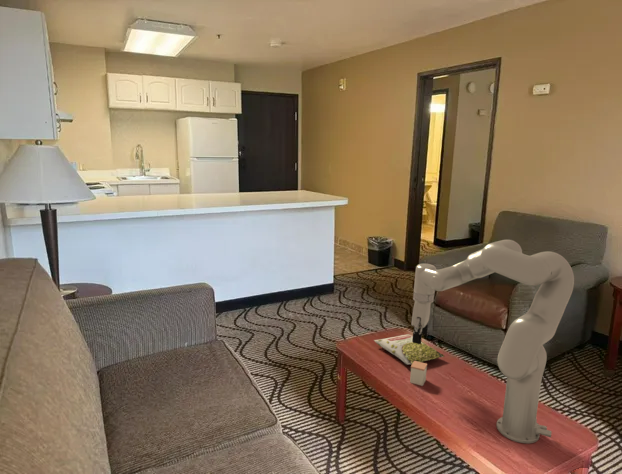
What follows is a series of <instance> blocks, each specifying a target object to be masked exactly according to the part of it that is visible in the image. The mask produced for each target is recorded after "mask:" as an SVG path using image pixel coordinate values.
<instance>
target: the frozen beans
mask: <svg viewBox="0 0 622 474" xmlns="http://www.w3.org/2000/svg"><path fill="white" fill-rule="evenodd" d="M412 340H413V335H412V334H409V333H407V334H401V335H396V336H391V337H387V338H380V339H373V341H374V342H375V343H376V344H377V345H378V346H379V347H381V348H382V349H384V350H386V351H387V352H389V353H390V354H392V355H393V356H395V357H396V358H397V359H399V360H400V361H401V362H403V363H404V364H405V365H412V364H413V362H414V361H418V362H422V363H423V362H426V361H430V360H431V361H432V360H435V359H438V358H443V357H445V355H444V354H443V353H440V352H439V351H438V350H436V349H435V348H433V347H432V346H429V345H428V344H427V343H425V342H424V341H423V340H421V344H417V343H413V342H412Z"/></svg>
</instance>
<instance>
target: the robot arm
mask: <svg viewBox="0 0 622 474" xmlns="http://www.w3.org/2000/svg"><path fill="white" fill-rule="evenodd" d="M414 272H415V274H414V284H413V294H412V295H413V298H412V299H413V301H414V305H413V308H412V316H411V324H410V325H411V326H412V327H413V331H412V336H413V340H412V342H413V343H417V344H421V341H422V337H423V335H427V334H428V326H429V325H428V323H429V321H430V316H431V315H430V314H431V306H432V305H431V304H432V303H434V298H435V292H436V291H437V292H443V291H447V290H449V289H452V288H455V287H459V286H461V285H463V284H466V283H468V282H471V281H473V280H476V279H482V278H484V277H486V276H489V275H491V274H494V273H496V274H497V275H498V274H499V275H501V276H503V277H506V278H508V279H511V280H513V281H516V282H518V283H520V284H523V285H527V286H539V285H540V286H539V287H538V290H537V291H536V293H535V294H534V296H533V297H534V298H533V300H532V302H531V305H530V307H529V308H528V310H527V312H525V313H524V314H523V315H521V316H519V317H516V319H514V320H513V321H512V323H511V324H510V325H509V327H508V329H507V332H506V334H505V336H504V339H503V341H502V344H501V347H500V349H499V350H498V355H497V361H496V362H497V367H498V369H499V370H500V371H499V372H501V373H502V375H504V376H505V377H506V385H505V394H504V402H503V403H504V404H503V411H502V416H501V417H500V418H498V419H497V421H496V428H497V430H498V432H499V433H500V434H501V435H502V436H504V437H505V438H507V439H509V440H510V441H512V442H515V443H521V444H533V443H536V442H537V441H539V439H540V437H541V436H544V437H548V438H552V430H549V429H547V428H548V427H547V426H546V425H543V424H539V423H538V422H537V420H538V419H537V413H538V406H539V401H540V400H539V399H540V394H541V393H540V392H541V385H542V381H543V375H544V372H545V368H546V364H547V359H548V358H547V351H546V349H545V347H544V345H545V344H546V343H548V342H549V341H550V340H552V339H553V337H554V336H555V334H556V332H557V329H558V326H559V324H560V322H561V320H562V317H563V315H564V312H565V310H566V307H567V305H568V303H569V301H570V298H571V296H572V294H573V290H574V286H575V275H574V271H573V268H572V267H571V265H570V263H569V262H568V260H567V259H566V258H565V257H564V256H562V255H561V254H560V253H557V252H556V251H555V252H554V251H550V250H549V251H541V252H537V253H533V254H532V255H528V254H525V253H523V250H522V247H521V245H520V243H518V242H516V241H515V240H513V239H502V240H498V241H494V242H493V241H492V242H490V243H488V244H486V245H485V246H484V247H483V248H481V249H478V250H477V251H475V252H472V253H470V254H469V255H468V256H467V257H466V259H464V260H463V261H460V262H458V263H456V264H454V265H450V266H446V267H444V268H440V269H437V267H436V266H435V265H433V264H430V263H419V264H417V265H416V266H415V271H414Z"/></svg>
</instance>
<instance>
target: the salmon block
mask: <svg viewBox="0 0 622 474" xmlns="http://www.w3.org/2000/svg"><path fill="white" fill-rule="evenodd" d="M410 365H411V366H410V375H409V376H410V380H409V382H410V383H411V384H413V385H418V386H422V387H423V386H424V385H425V383H426V379H427V369H428V363H427V362H423V361H422V362H418V361H414V362H413V364H410Z"/></svg>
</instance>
